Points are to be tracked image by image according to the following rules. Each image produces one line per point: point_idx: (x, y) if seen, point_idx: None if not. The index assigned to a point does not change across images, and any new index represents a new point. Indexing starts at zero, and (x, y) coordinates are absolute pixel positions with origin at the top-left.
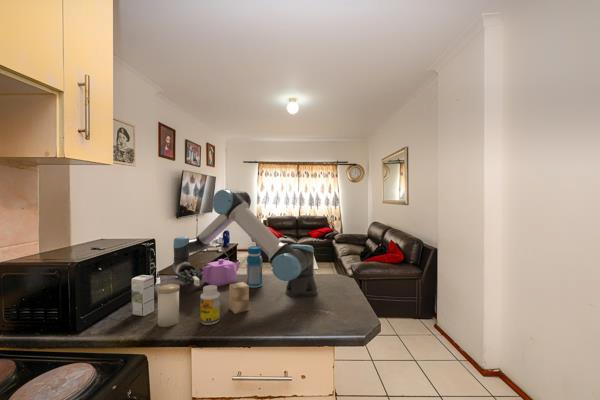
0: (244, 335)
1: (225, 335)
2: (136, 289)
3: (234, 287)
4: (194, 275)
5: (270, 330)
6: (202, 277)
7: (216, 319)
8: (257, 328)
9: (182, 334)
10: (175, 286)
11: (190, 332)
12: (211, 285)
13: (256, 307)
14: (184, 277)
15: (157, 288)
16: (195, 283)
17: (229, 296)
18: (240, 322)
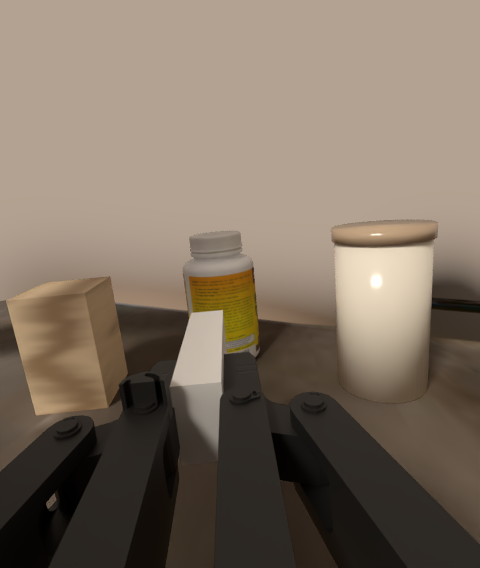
0: (184, 312)
1: None
2: None
3: (102, 279)
4: (157, 449)
5: (129, 314)
6: None
7: None
8: (143, 320)
9: (316, 330)
10: (349, 227)
11: (294, 332)
12: (204, 236)
13: (27, 386)
14: (340, 410)
15: (433, 221)
16: (226, 350)
17: (97, 352)
18: (155, 338)
